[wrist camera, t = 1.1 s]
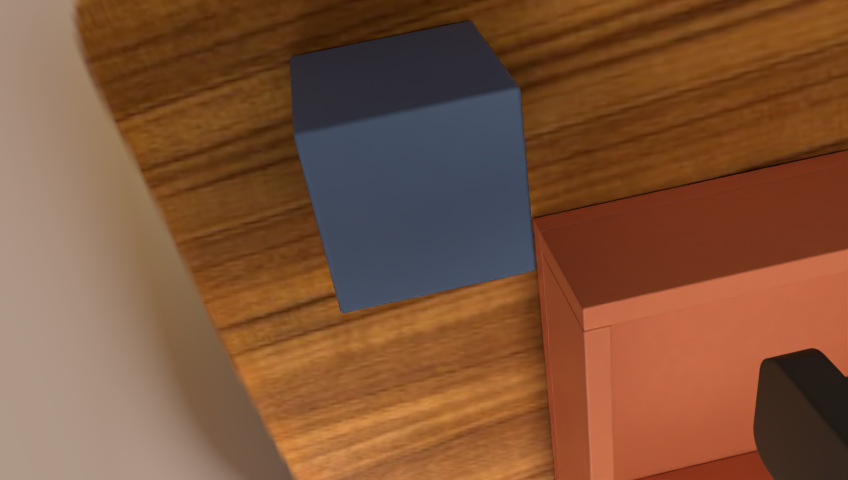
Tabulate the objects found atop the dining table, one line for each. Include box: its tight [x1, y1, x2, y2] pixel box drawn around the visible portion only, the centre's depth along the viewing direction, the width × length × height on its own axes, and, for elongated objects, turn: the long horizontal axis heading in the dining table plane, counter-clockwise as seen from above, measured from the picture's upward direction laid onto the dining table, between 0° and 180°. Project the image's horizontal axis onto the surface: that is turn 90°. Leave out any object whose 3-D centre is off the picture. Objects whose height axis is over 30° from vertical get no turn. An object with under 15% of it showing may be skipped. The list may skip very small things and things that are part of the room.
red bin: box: [533, 150, 848, 480], centre depth 27 cm, size 14×14×5 cm
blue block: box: [290, 21, 536, 313], centre depth 20 cm, size 5×5×5 cm
